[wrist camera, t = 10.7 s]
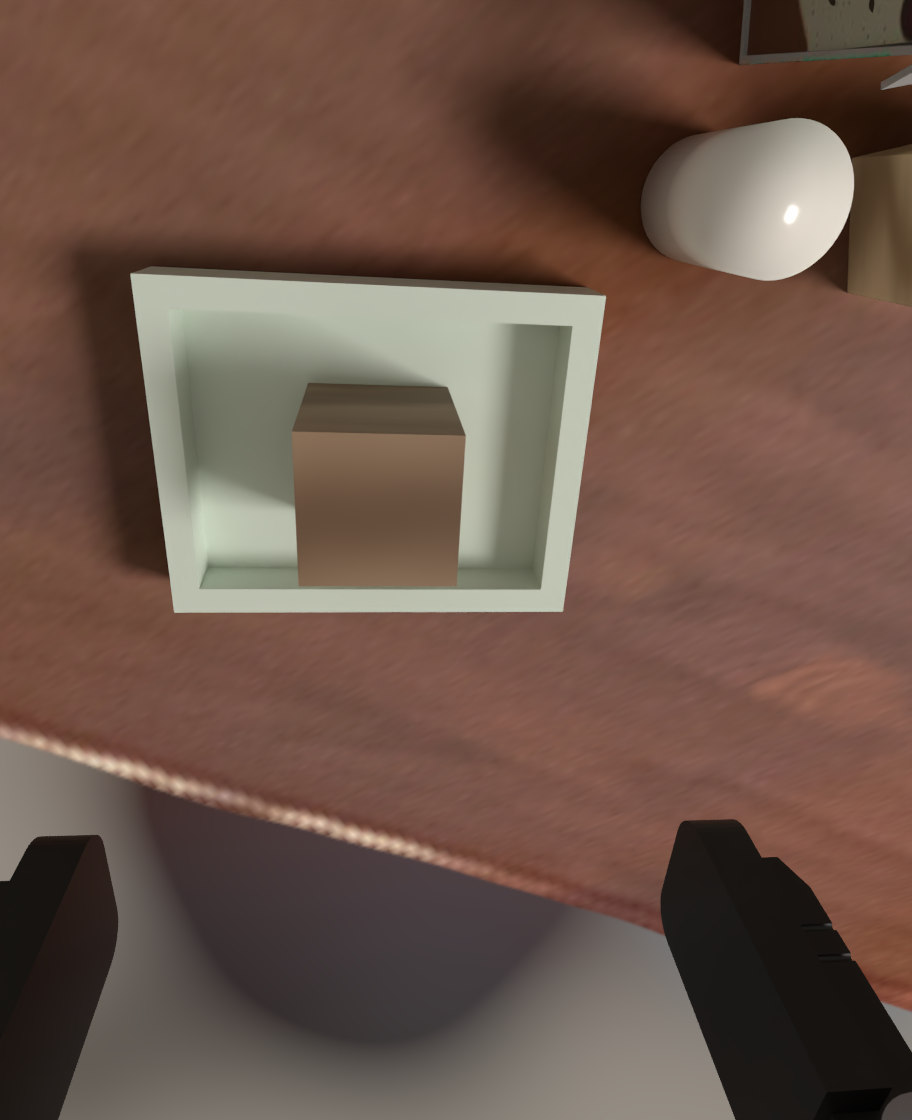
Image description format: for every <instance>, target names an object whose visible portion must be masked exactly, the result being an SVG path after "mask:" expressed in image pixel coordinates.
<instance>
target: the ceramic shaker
mask: <svg viewBox="0 0 912 1120" xmlns="http://www.w3.org/2000/svg"><path fill="white" fill-rule="evenodd" d="M853 192H854V173H853V167H852V163H851V159H850V156H849V154H848V151H847V149H846V147H845V145H844V144H843V142H842V141H841V139H840V138H839V137H838V136H837V135H836V134H835V132H833V131H832V130H831V129H829V128H828V127H827V126H825V125H823V124H821V123H819V122H817V121H814V120H810V119H804V118H790V119H784V120H778V121H772V122H766V123H760V124H755V125H749V126H743V127H737V128H731V129H725V130H720V131H714V132H708V133H702V134H696V135H692V136H689V137H686V138H684V139H682V140H680V141H678V142H676V143H675V144H673V145H672V146H670V147H669V148H668V149H667V150H666V151H665V152H664V153H663V154H662V155H661V156H660V157H659V158H658V159H657V161H656V162H655V163H654V165H653V167H652V168H651V170H650V172H649V174H648V176H647V178H646V181H645V184H644V187H643V191H642V196H641V218H642V223H643V227H644V230H645V232H646V235H647V237H648V238H649V240H650V242H651V243H652V244H653V246H654V247H655V248H656V249H657V250H658V251H659V252H660V253H662V254H663V255H665V256H666V257H668V258H670V259H673V260H676V261H680V262H684V263H688V264H693V265H697V266H701V267H706V268H710V269H714V270H718V271H723V272H727V273H731V274H736V275H740V276H744V277H749V278H753V279H757V280H779V279H784V278H787V277H791V276H793V275H795V274H798V273H800V272H802V271H803V270H805V269H807V268H808V267H810V266H811V265H813V264H814V263H815V262H817V261H818V260H819V259H820V258H821V257H822V256H823V255H824V254H825V253H826V252H827V251H828V250H829V248H830V247H831V246H832V245H833V243H834V242H835V240H836V239H837V238H838V236H839V234H840V232H841V231H842V229H843V227H844V225H845V222H846V220H847V218H848V215H849V211H850V208H851V204H852V199H853Z"/></svg>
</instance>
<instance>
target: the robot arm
mask: <svg viewBox="0 0 912 1120" xmlns="http://www.w3.org/2000/svg"><path fill="white" fill-rule="evenodd" d="M661 918H662V924H663V929H664V933H665V936H666V939H667V942H668V945H669V947H670V950H671V952H672V955H673V958H674V960H675V963H676V966H677V968H678V970H679V973H680V976H681V979H682V981H683V984H684V986H685V989H686V991H687V994H688V997H689V999H690V1002H691V1004H692V1007H693V1010H694V1012H695V1015H696V1018H697V1020H698V1022H699V1025H700V1028H701V1030H702V1033H703V1036H704V1038H705V1041H706V1044H707V1046H708V1049H709V1051H710V1054H711V1057H712V1059H713V1062H714V1065H715V1067H716V1070H717V1073H718V1075H719V1078H720V1080H721V1083H722V1086H723V1088H724V1090H725V1093H726V1096H727V1098H728V1101H729V1104H730V1106H731V1109H732V1112H733V1114H734V1117H735V1119H736V1120H912V1052H911V1050H910V1049H909V1047H908V1046H907V1044H906V1042H905V1041H904V1039H903V1038H902V1036H901V1034H900V1032H899V1031H898V1029H897V1028H896V1026H895V1024H894V1023H893V1021H892V1019H891V1018H890V1016H889V1015H888V1013H887V1011H886V1010H885V1008H884V1006H883V1005H882V1003H881V1002H880V1000H879V998H878V997H877V995H876V993H875V992H874V990H873V989H872V987H871V985H870V984H869V982H868V980H867V979H866V977H865V976H864V974H863V972H862V971H861V969H860V967H859V966H858V964H857V963H856V961H852V959H851V956H850V954H851V953H850V951H849V950H848V948H847V946H846V945H845V943H844V942H843V940H842V938H841V937H840V935H839V933H838V932H837V930H833V928H832V922H831V920H830V919H829V917H828V916H827V914H826V912H825V911H824V909H823V907H822V906H821V904H820V903H819V901H818V899H817V898H816V896H815V894H814V893H813V891H812V890H811V888H810V887H809V886H808V885H807V884H806V883H805V882H804V881H803V880H802V879H801V878H799V877H798V876H797V875H796V874H795V873H794V872H793V871H792V870H791V869H790V868H789V867H788V866H786V865H785V864H784V863H783V862H782V861H781V860H780V859H779V858H778V857H767V858H761V856H760V854H759V852H758V851H757V849H756V847H755V845H754V844H753V842H752V840H751V838H750V837H749V835H748V833H747V831H746V830H745V828H744V827H743V826H742V824H741V823H740V822H738V821H737V820H734V819H728V820H692V821H683V822H682V823H681V824H680V826H679V828H678V831H677V835H676V839H675V843H674V846H673V850H672V854H671V858H670V861H669V865H668V869H667V873H666V876H665V880H664V884H663V888H662V892H661ZM117 932H118V912H117V906H116V901H115V896H114V892H113V887H112V882H111V877H110V872H109V867H108V863H107V858H106V853H105V848H104V844H103V841H102V839H101V837H100V836H98V835H78V836H45V837H44V836H42V837H37V838H36V839H34V840H33V841H32V842H31V843H30V845H29V846H28V848H27V849H26V851H25V853H24V855H23V857H22V859H21V861H20V862H19V864H18V866H17V868H16V870H15V872H14V874H13V876H12V878H11V880H10V881H0V1120H58V1118H59V1115H60V1112H61V1109H62V1106H63V1103H64V1100H65V1098H66V1095H67V1092H68V1089H69V1086H70V1083H71V1080H72V1077H73V1074H74V1071H75V1068H76V1065H77V1063H78V1059H79V1057H80V1053H81V1051H82V1048H83V1045H84V1042H85V1039H86V1036H87V1033H88V1030H89V1027H90V1024H91V1021H92V1019H93V1016H94V1013H95V1010H96V1007H97V1004H98V1001H99V998H100V995H101V992H102V989H103V986H104V983H105V981H106V978H107V975H108V972H109V969H110V966H111V963H112V960H113V956H114V952H115V947H116V941H117Z"/></svg>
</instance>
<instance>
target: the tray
mask: <svg viewBox="0 0 912 1120" xmlns="http://www.w3.org/2000/svg"><path fill="white" fill-rule="evenodd" d="M130 276H131V283H132V291H133V299H134V306H135V314H136V322H137V329H138V337H139V345H140V352H141V360H142V368H143V376H144V383H145V391H146V399H147V406H148V414H149V422H150V429H151V437H152V445H153V453H154V460H155V468H156V476H157V483H158V491H159V499H160V506H161V514H162V522H163V529H164V537H165V545H166V553H167V560H168V568H169V576H170V583H171V591H172V599H173V606H174V613H185V612H563V607H564V599H565V592H566V585H567V577H568V570H569V563H570V555H571V548H572V541H573V534H574V526H575V519H576V512H577V504H578V497H579V490H580V483H581V475H582V468H583V461H584V453H585V446H586V439H587V432H588V424H589V417H590V410H591V402H592V395H593V388H594V380H595V373H596V366H597V359H598V351H599V344H600V337H601V329H602V322H603V315H604V308H605V300H606V296H605V295H603V294H601V293H599V292H596V291H594V290H592V289H590V288H588V287H569V286H548V285H528V284H507V283H486V282H466V281H445V280H424V279H404V278H383V277H362V276H342V275H321V274H300V273H280V272H259V271H238V270H218V269H197V268H176V267H156V266H151V267H148V268H145V269H142V270H139V271H136V272H133V273H130ZM308 383H330V384H363V385H395V386H427V387H448V389H449V392H450V395H451V397H452V400H453V403H454V405H455V408H456V411H457V413H458V416H459V419H460V421H461V424H462V427H463V429H464V432H465V435H466V441H465V458H464V474H463V490H462V506H461V522H460V539H459V555H458V571H457V586H299V585H298V563H297V541H296V518H295V496H294V474H293V452H292V429H293V426H294V423H295V420H296V417H297V414H298V411H299V408H300V405H301V403H302V400H303V397H304V394H305V391H306V388H307V385H308Z"/></svg>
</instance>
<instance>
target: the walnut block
mask: <svg viewBox="0 0 912 1120" xmlns="http://www.w3.org/2000/svg"><path fill="white" fill-rule="evenodd" d="M465 441H466V435H465V432H464V429H463V427H462V424H461V421H460V419H459V416H458V413H457V411H456V408H455V405H454V403H453V400H452V397H451V395H450V392H449V389H448V387H427V386H395V385H363V384H330V383H308V385H307V388H306V391H305V394H304V397H303V400H302V403H301V405H300V408H299V411H298V414H297V417H296V420H295V423H294V426H293V429H292V452H293V474H294V496H295V518H296V541H297V563H298V585H299V586H457V571H458V555H459V539H460V522H461V506H462V490H463V474H464V458H465Z"/></svg>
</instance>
